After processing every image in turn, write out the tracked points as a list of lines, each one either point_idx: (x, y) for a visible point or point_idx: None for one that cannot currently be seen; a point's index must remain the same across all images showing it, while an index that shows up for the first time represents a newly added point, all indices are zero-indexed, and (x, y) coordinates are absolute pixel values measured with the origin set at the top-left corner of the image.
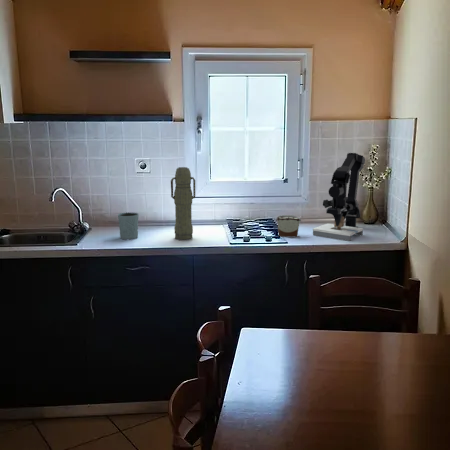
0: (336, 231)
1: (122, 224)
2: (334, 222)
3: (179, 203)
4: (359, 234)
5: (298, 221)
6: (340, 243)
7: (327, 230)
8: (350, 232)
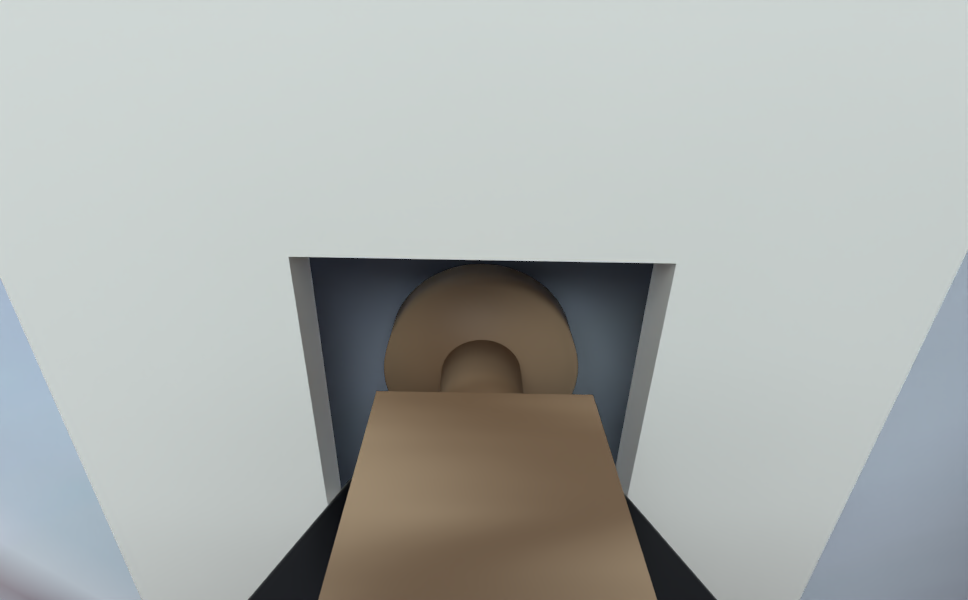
0: (154, 496)
1: None
2: (349, 493)
3: None
4: None
5: None
6: (3, 545)
7: (39, 305)
8: None
